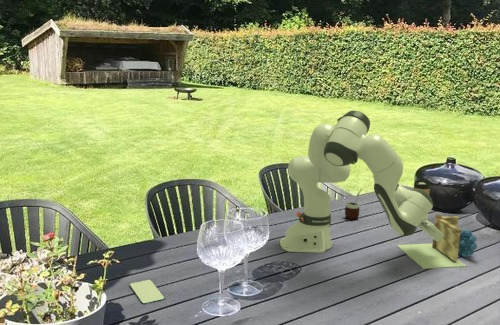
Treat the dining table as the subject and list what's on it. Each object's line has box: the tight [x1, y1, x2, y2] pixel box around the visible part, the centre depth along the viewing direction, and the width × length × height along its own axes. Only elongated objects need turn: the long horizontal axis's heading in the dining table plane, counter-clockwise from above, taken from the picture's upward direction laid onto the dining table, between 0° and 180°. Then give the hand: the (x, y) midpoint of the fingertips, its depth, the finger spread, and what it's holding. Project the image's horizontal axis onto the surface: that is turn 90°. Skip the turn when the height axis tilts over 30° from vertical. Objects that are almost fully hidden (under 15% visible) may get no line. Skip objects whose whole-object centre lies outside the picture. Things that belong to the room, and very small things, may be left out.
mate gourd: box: [344, 188, 363, 222], centre depth 255 cm, size 8×8×15 cm
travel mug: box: [413, 180, 431, 196], centre depth 252 cm, size 8×8×20 cm
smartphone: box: [129, 279, 166, 305], centre depth 176 cm, size 8×1×16 cm
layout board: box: [396, 242, 467, 270], centre depth 211 cm, size 18×24×1 cm
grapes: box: [458, 229, 478, 258], centre depth 210 cm, size 12×7×12 cm, turn 22°
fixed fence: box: [432, 214, 460, 249], centre depth 218 cm, size 10×2×15 cm, turn 99°
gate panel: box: [436, 219, 462, 261], centre depth 209 cm, size 14×2×13 cm, turn 10°
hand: (436, 238), depth 208 cm, fingers closed
